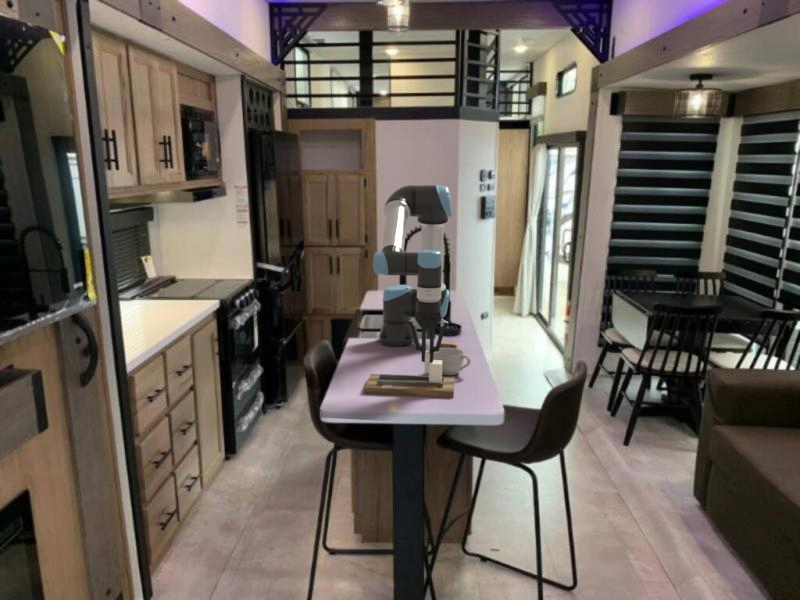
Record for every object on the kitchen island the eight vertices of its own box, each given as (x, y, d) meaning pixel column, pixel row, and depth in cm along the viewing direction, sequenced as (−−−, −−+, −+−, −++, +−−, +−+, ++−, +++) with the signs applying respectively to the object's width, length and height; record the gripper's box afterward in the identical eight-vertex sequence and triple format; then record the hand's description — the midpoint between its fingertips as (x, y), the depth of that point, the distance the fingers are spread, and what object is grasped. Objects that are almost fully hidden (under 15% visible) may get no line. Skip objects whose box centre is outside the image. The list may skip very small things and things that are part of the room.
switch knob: (429, 379, 192) (430, 359, 190) (441, 380, 191) (442, 360, 190) (428, 384, 187) (429, 364, 186) (441, 384, 187) (441, 364, 185)
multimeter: (458, 351, 231) (459, 343, 231) (451, 365, 214) (452, 356, 213) (437, 349, 233) (437, 341, 233) (428, 363, 216) (429, 354, 215)
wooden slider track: (370, 379, 198) (370, 370, 198) (454, 383, 196) (454, 373, 195) (364, 393, 186) (364, 383, 185) (453, 397, 183) (453, 387, 182)
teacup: (426, 372, 206) (426, 350, 204) (446, 365, 213) (447, 344, 212) (456, 382, 196) (457, 359, 195) (476, 375, 204) (477, 352, 202)
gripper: (407, 301, 181) (406, 374, 186) (449, 303, 179) (447, 376, 185) (409, 296, 188) (408, 366, 193) (449, 297, 187) (447, 368, 192)
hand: (427, 371), depth 189 cm, fingers closed
